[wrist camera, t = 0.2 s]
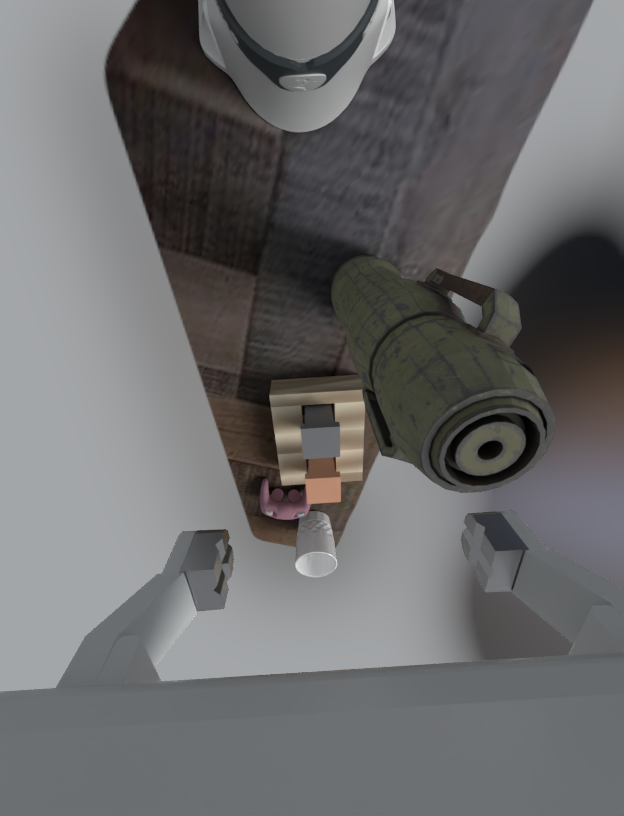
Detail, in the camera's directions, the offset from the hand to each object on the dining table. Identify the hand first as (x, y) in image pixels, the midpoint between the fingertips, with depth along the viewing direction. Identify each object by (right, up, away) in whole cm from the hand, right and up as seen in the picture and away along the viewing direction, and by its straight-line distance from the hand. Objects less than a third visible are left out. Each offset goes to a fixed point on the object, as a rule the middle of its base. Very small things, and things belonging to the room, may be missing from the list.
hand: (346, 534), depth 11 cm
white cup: (-1, -20, +58) cm, 61 cm away
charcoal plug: (0, +3, +38) cm, 39 cm away
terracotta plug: (0, -5, +43) cm, 43 cm away
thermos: (+6, +21, +33) cm, 40 cm away
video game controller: (-6, -11, +53) cm, 54 cm away
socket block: (0, +2, +45) cm, 45 cm away
